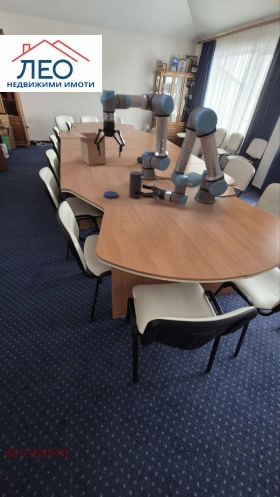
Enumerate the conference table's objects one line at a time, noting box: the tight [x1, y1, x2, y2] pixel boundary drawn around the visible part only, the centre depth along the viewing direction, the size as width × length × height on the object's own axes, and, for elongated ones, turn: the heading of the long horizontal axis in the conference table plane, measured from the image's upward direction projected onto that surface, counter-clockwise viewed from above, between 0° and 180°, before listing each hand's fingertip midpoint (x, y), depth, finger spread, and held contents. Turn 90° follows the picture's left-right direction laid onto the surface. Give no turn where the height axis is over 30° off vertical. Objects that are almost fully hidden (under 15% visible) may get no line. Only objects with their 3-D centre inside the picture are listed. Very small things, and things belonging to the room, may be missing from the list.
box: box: [70, 129, 107, 166], centre depth 229 cm, size 44×36×27 cm
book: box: [184, 171, 202, 188], centre depth 201 cm, size 23×16×5 cm
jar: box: [128, 170, 143, 200], centre depth 164 cm, size 9×9×18 cm
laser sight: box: [136, 153, 143, 164], centre depth 238 cm, size 10×22×10 cm, turn 78°
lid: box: [103, 190, 118, 199], centre depth 166 cm, size 10×10×2 cm
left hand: (109, 156), depth 150 cm, fingers open, 13 cm apart
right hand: (138, 189), depth 165 cm, fingers open, 13 cm apart
